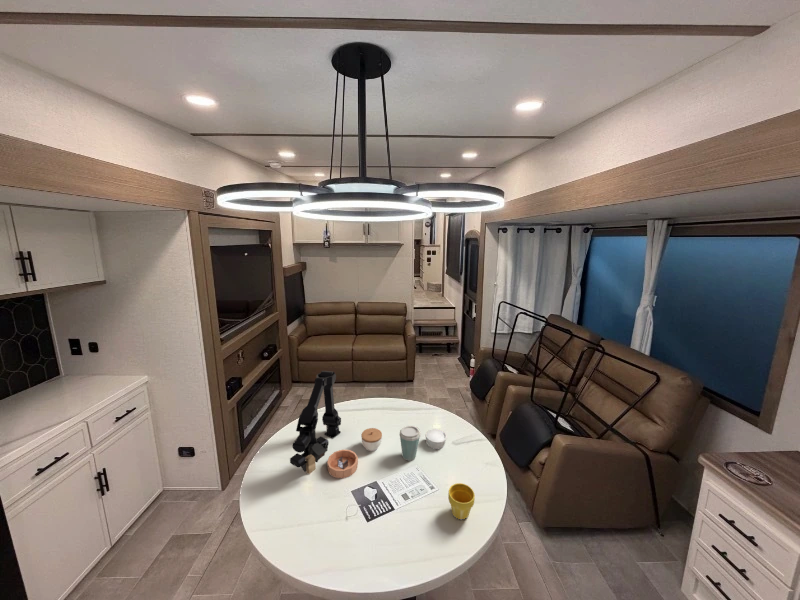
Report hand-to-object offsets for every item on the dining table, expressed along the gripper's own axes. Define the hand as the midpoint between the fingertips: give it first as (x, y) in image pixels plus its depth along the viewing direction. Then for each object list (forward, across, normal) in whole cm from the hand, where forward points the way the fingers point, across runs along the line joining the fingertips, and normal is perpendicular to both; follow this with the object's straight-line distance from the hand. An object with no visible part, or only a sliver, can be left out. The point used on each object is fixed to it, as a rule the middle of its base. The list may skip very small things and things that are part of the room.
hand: (310, 466), depth 149 cm
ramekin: (+3, +50, -41) cm, 65 cm away
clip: (+2, +10, -11) cm, 15 cm away
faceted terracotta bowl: (+2, +10, -11) cm, 15 cm away
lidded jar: (+2, +29, -14) cm, 32 cm away
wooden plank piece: (+2, 0, 0) cm, 2 cm away
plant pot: (+2, +17, -68) cm, 70 cm away
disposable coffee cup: (+2, +34, -34) cm, 48 cm away
